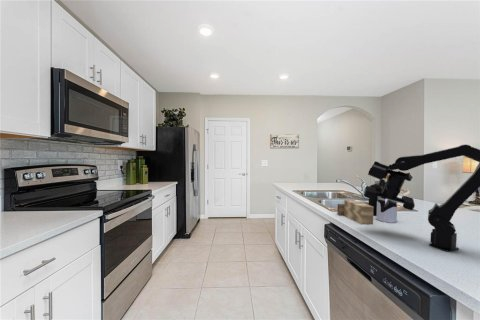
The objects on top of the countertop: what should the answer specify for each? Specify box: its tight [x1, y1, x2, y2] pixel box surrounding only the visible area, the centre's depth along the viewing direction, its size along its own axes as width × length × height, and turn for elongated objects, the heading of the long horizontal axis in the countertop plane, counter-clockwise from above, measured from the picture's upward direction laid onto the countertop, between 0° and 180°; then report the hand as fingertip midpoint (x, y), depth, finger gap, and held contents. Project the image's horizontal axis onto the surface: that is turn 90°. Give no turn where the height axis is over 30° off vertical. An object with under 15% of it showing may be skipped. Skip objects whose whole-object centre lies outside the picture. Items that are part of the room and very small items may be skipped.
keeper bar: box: [343, 199, 374, 225], centre depth 122 cm, size 16×6×9 cm, turn 6°
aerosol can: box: [368, 179, 382, 217], centre depth 134 cm, size 8×8×20 cm
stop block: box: [336, 203, 345, 217], centre depth 132 cm, size 3×10×6 cm, turn 96°
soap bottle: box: [375, 174, 398, 224], centre depth 122 cm, size 9×9×25 cm
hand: (381, 211), depth 105 cm, fingers closed
